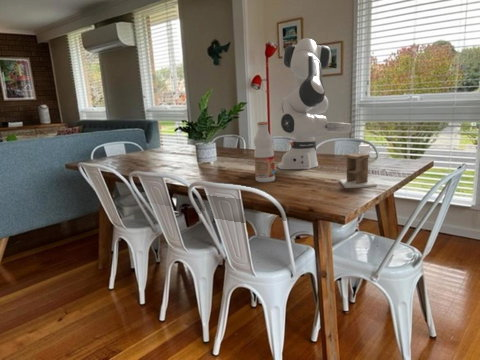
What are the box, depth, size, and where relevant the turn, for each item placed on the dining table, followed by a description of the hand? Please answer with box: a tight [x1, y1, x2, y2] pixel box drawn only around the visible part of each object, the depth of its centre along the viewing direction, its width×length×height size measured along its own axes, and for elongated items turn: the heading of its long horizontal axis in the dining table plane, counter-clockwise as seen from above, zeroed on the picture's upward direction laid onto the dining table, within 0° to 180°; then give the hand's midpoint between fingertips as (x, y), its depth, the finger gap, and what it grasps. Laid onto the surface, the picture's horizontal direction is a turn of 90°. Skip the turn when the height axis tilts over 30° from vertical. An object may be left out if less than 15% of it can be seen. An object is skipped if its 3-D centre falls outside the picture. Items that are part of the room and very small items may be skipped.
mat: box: [338, 177, 378, 189], centre depth 160 cm, size 13×12×1 cm
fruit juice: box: [253, 121, 276, 183], centre depth 174 cm, size 9×9×28 cm
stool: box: [344, 152, 370, 184], centre depth 158 cm, size 7×7×12 cm
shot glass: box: [358, 143, 372, 154], centre depth 221 cm, size 7×7×7 cm
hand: (341, 128), depth 152 cm, fingers open, 8 cm apart
